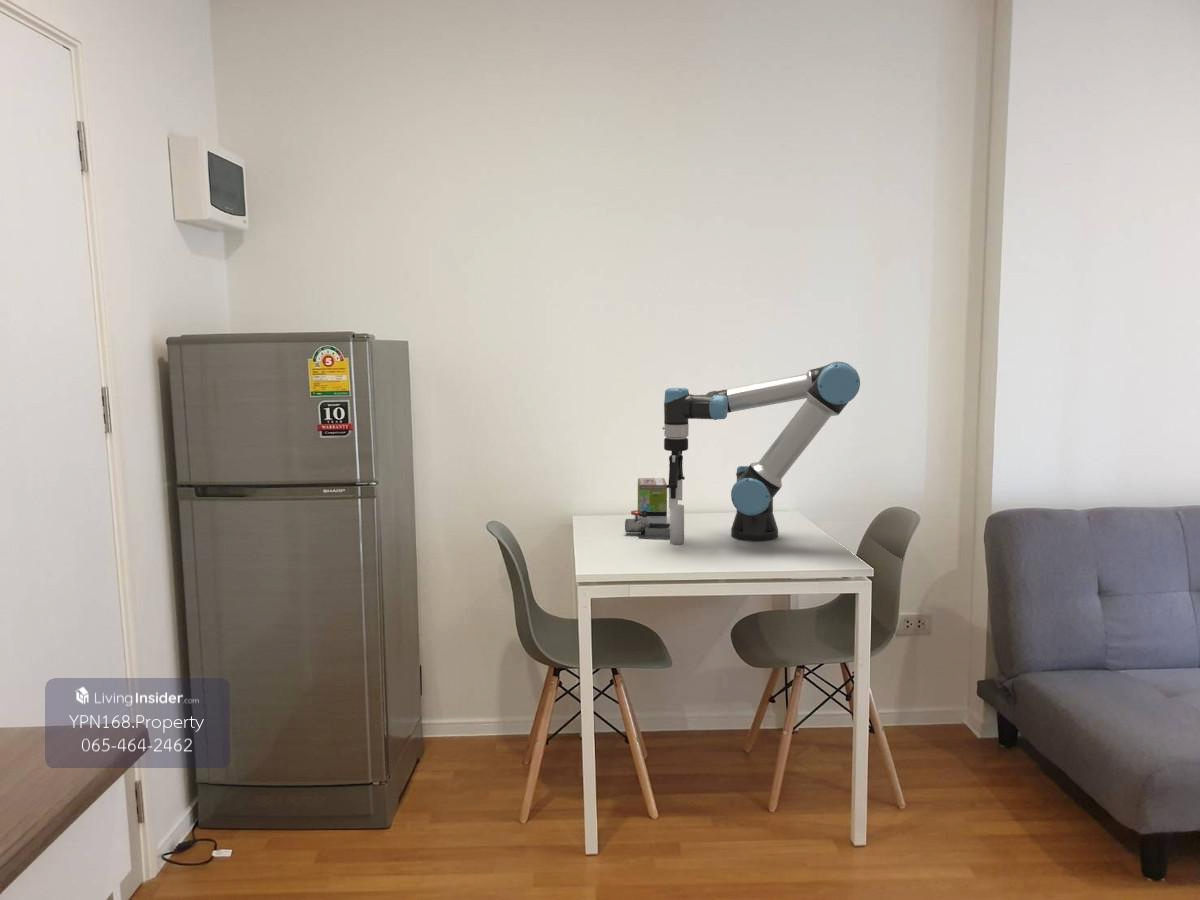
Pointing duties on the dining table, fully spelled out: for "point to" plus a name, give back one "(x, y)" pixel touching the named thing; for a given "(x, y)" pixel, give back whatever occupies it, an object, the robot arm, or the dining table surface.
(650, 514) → the tea box
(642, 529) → the grey knobbed block
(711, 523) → the dining table surface
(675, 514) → the pipe
